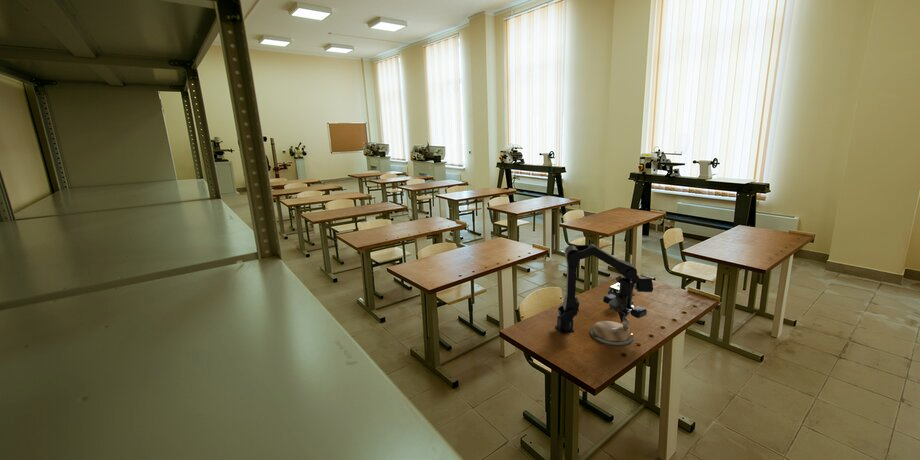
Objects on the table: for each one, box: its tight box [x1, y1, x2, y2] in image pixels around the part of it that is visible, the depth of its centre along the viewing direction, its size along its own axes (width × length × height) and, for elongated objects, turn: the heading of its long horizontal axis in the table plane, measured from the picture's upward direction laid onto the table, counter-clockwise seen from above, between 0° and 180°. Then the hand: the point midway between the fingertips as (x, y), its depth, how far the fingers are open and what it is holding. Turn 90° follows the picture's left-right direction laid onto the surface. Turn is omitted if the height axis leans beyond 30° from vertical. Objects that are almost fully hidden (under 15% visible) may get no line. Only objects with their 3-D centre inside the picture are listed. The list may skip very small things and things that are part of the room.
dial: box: [592, 318, 632, 342], centre depth 172 cm, size 16×16×5 cm
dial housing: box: [589, 325, 634, 347], centre depth 173 cm, size 18×18×1 cm
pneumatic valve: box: [607, 282, 620, 296], centre depth 198 cm, size 6×12×12 cm, turn 129°
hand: (622, 322), depth 175 cm, fingers closed
